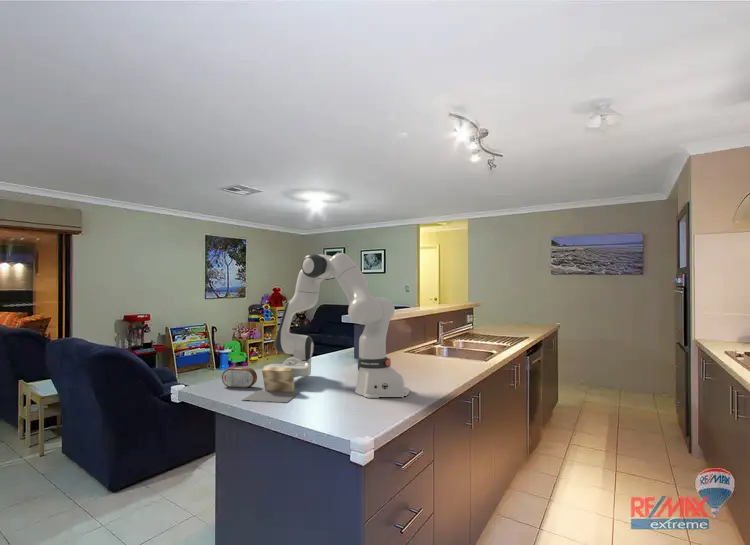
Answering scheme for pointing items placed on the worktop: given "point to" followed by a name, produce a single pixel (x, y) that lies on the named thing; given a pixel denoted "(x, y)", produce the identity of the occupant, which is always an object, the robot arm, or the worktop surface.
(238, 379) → the bluetooth speaker
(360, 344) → the robot arm
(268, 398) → the mat
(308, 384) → the worktop surface
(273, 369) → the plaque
